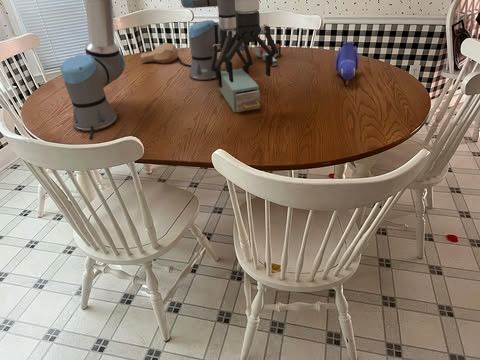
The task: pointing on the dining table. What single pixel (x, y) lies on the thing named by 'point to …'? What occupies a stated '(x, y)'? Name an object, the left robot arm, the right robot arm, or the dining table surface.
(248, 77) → the cabinet
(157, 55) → the squash
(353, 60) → the toy
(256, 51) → the tape dispenser
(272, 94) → the dining table surface
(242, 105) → the drawer
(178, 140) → the dining table surface
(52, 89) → the dining table surface
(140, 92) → the dining table surface
